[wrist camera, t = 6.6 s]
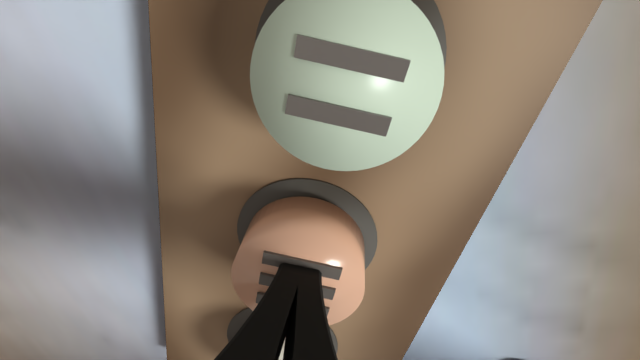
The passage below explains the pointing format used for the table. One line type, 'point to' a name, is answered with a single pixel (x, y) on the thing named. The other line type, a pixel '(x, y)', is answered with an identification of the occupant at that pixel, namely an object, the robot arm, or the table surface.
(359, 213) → the console
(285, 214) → the terracotta button
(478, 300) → the table surface
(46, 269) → the table surface
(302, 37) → the sage button
